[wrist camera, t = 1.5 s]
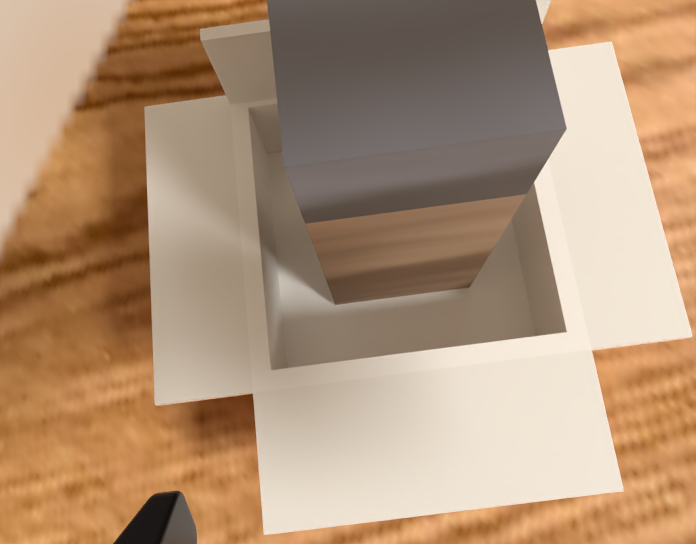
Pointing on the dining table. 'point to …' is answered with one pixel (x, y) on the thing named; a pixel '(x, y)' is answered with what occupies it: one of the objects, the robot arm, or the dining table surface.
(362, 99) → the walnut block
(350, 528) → the dining table surface
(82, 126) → the dining table surface
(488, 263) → the carton
